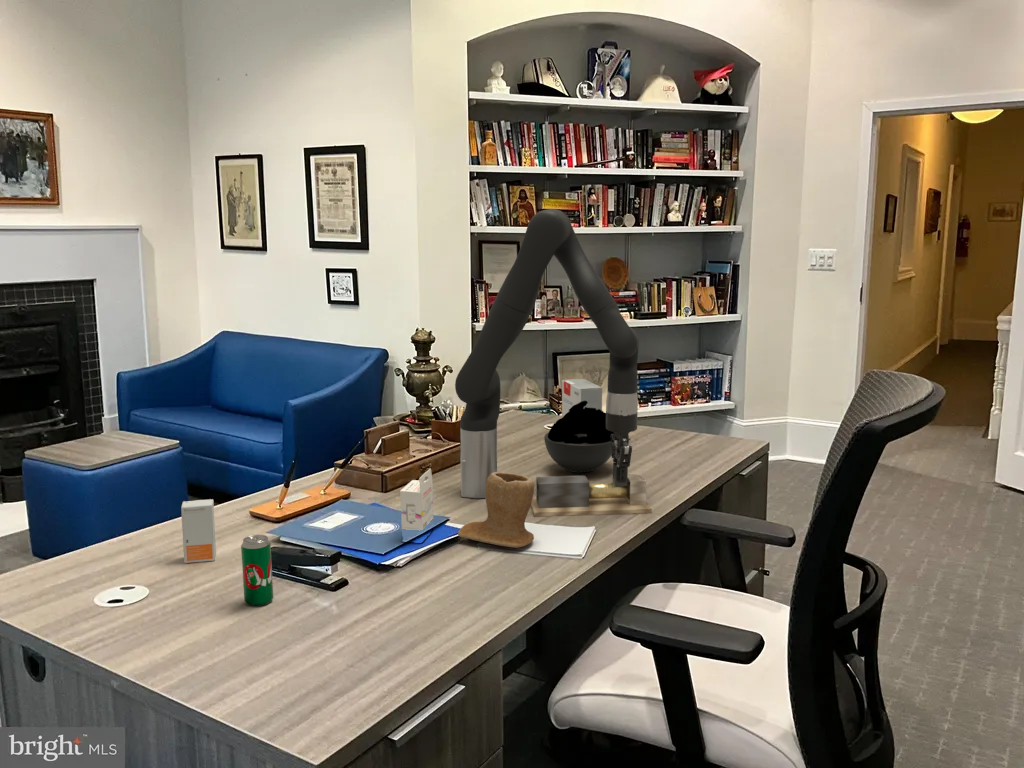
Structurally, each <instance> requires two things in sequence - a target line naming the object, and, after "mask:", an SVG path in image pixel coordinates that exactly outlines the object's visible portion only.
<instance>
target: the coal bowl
mask: <svg viewBox="0 0 1024 768" xmlns="http://www.w3.org/2000/svg"><path fill="white" fill-rule="evenodd" d="M587 403H588V402H587V401H582V402H580V403H578V404H576V405H573V406H572V407H571V408H570V409H569V412H568V413H566V414H565V415H564V416H563V418H562V417H561V418H559V419H557V420H556V421H555V422H554V423H553V424H552V426H551V428H550V429H549V431H548V432H547V433H545V434H544V444H545V447H546V450H547V453H548V455H549V456H550V458H551V459H552V460H553V461H554V462H555V463H556V464H557V465H558V466H559V467H561V468H563V469H565V470H567V471H569V472H574V473H579V474H582V473H588V472H593V471H594V470H597V469H599V468H600V467H602V466H604V465H605V464H606V463H607V462H608V461H609V460H610V458H612V456H611V455H612V452H611V438H610V435H611V434H613V433H614V432H612V431H609V430H607V429H606V412H605V411H603V409H602V410H600V409H598V410H596V408H587V407H585V406H586V405H587ZM584 407H585V408H584Z"/></svg>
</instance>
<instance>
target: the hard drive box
mask: <svg viewBox="0 0 1024 768" xmlns="http://www.w3.org/2000/svg"><path fill="white" fill-rule="evenodd" d="M582 401H587V402H588V403H587V405H586V406H585V407H587V408H596V410H598V409H600V410H602V411H603V387H602V386H599V385H598V384H595V383H593V382H591V381H589V380H588V379H584V378H571V379H562V380H561V418H563V416H564V415H565V414H566V413H568V412H569V409H570V408H571V407H572V406H573V405H576V404H578V403H580V402H582ZM585 407H584V408H585Z"/></svg>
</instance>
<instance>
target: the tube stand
mask: <svg viewBox="0 0 1024 768" xmlns="http://www.w3.org/2000/svg"><path fill="white" fill-rule="evenodd" d="M535 479H536V481H535V482H536V488H535V490H536V494H535V496H533V499H532V503H531V506H530V509H531V510H532V513H533V517H534V518H535V517H562V516H563V517H564V516H565V517H566V516H597V515H598V516H600V515H625V514H626V515H629V514H631V515H633V513H637V514H652V507H651V506H650V505H649V504H648V503H647V480H646V479H645V477H643V475H642V474H640V473H635V474H633V473H632V474H631V473H630V474H629V473H628V481H627V482H629V483H630V498H601V499H589V483H590V481H589V479H588V478H587V476H586V475H559V476H558V475H557V476H556V475H555V476H554V475H552V476H550V475H549V476H536V478H535Z"/></svg>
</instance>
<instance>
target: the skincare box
mask: <svg viewBox="0 0 1024 768" xmlns="http://www.w3.org/2000/svg"><path fill="white" fill-rule="evenodd" d="M181 503H182V504H181V506H180V507H181V508H180V511H181V528H182V530H181V531H182V545H183V547H182V548H183V560H184V561H183V562H184V564H190V563H201V562H214V561H216V557H217V556H216V555H217V544H216V543H217V541H216V526H215V525H216V524H215V523H216V522H215V505H214V503H215V502H214V499H213V498H212V499H211V498H209V499H197V500H189V501H187V500H186V501H185V500H183V501H182V502H181Z"/></svg>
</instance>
